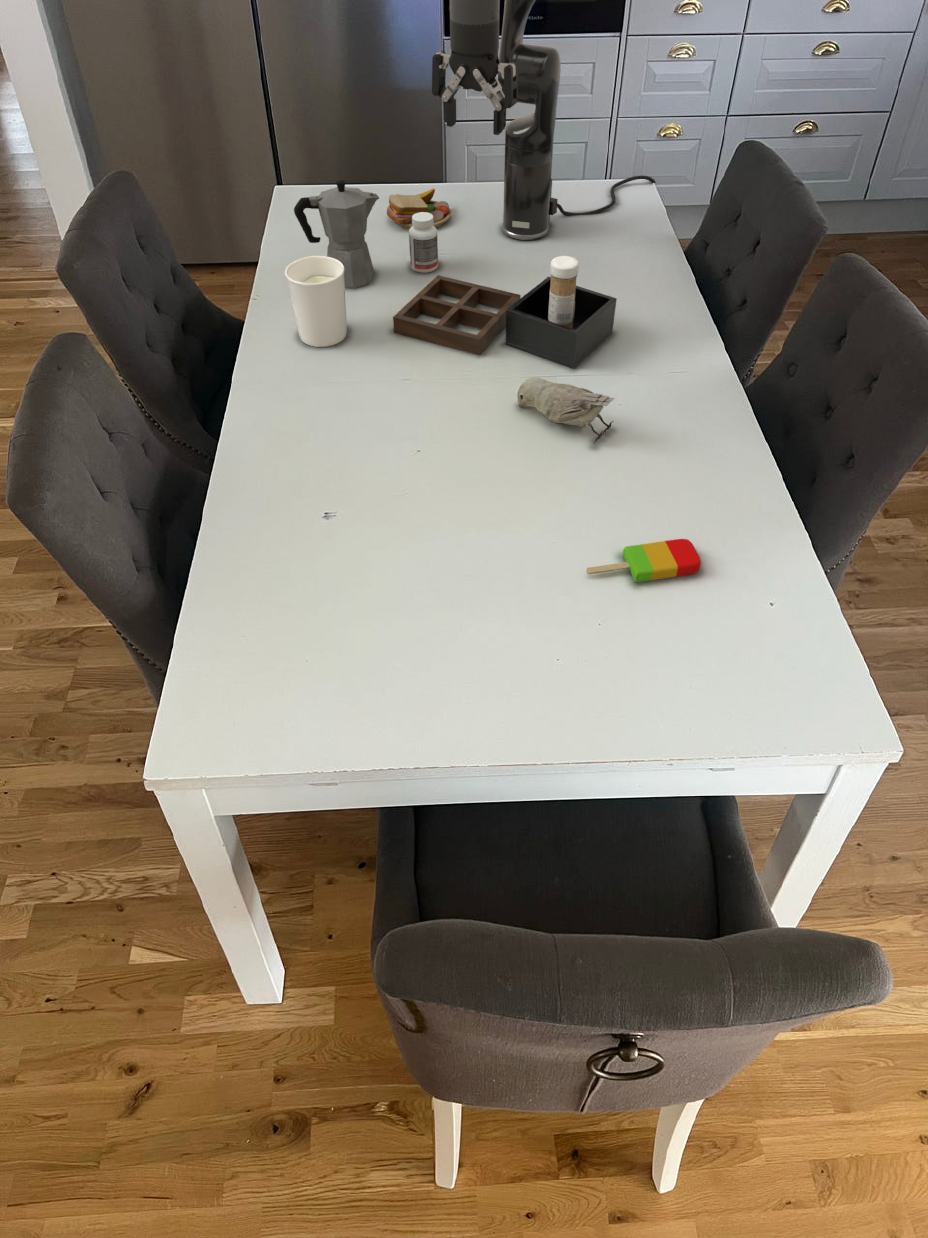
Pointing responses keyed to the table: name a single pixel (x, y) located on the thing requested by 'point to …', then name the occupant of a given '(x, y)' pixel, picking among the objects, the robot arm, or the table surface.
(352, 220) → the coffeepot
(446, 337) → the wooden cubby shelf
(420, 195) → the toy sandwich meal
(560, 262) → the sprinkles bottle
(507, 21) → the robot arm
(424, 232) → the pill bottle
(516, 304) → the open box
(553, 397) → the decorative bird
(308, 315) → the candle holder
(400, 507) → the table surface
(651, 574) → the popsicle
